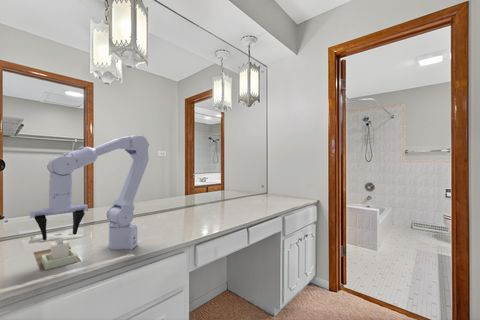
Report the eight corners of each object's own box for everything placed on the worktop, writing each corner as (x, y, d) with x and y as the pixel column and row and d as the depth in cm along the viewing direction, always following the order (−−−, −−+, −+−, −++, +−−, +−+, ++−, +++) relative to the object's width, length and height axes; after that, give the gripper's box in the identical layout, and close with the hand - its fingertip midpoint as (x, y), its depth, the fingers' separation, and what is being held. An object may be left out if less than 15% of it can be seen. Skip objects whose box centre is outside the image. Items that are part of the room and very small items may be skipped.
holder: (77, 261, 74) (77, 255, 74) (45, 269, 68) (45, 263, 68) (72, 254, 79) (72, 248, 79) (41, 261, 73) (41, 255, 73)
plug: (68, 260, 74) (68, 240, 74) (52, 264, 71) (52, 243, 71) (66, 256, 77) (66, 237, 77) (50, 260, 74) (50, 240, 74)
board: (81, 264, 74) (81, 261, 74) (40, 275, 67) (40, 271, 67) (68, 247, 88) (68, 245, 88) (33, 255, 80) (33, 252, 80)
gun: (28, 239, 86) (31, 233, 94) (27, 249, 86) (30, 241, 94) (86, 233, 97) (84, 228, 105) (85, 241, 97) (84, 235, 105)
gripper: (84, 190, 82) (83, 229, 82) (28, 194, 71) (28, 238, 71) (89, 192, 77) (89, 233, 77) (31, 197, 66) (30, 244, 66)
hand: (60, 236), depth 74 cm, fingers open, 7 cm apart
